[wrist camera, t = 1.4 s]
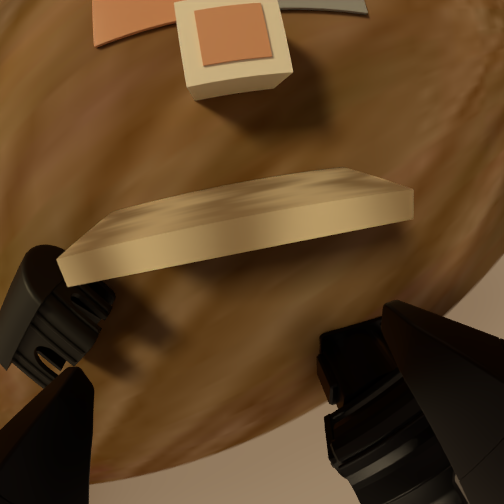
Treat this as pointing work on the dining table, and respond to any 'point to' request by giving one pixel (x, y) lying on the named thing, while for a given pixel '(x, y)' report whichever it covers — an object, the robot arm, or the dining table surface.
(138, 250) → the beech screen
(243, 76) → the marked cube
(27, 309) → the end cap
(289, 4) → the slate tile
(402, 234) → the dining table surface
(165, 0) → the terracotta tile
